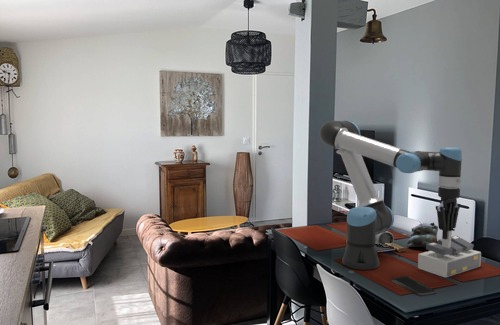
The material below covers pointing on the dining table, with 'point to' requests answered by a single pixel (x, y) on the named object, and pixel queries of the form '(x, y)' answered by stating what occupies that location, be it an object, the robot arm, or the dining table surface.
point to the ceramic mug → (384, 238)
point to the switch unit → (449, 262)
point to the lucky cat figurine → (423, 235)
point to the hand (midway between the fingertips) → (446, 246)
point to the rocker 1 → (438, 248)
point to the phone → (413, 286)
